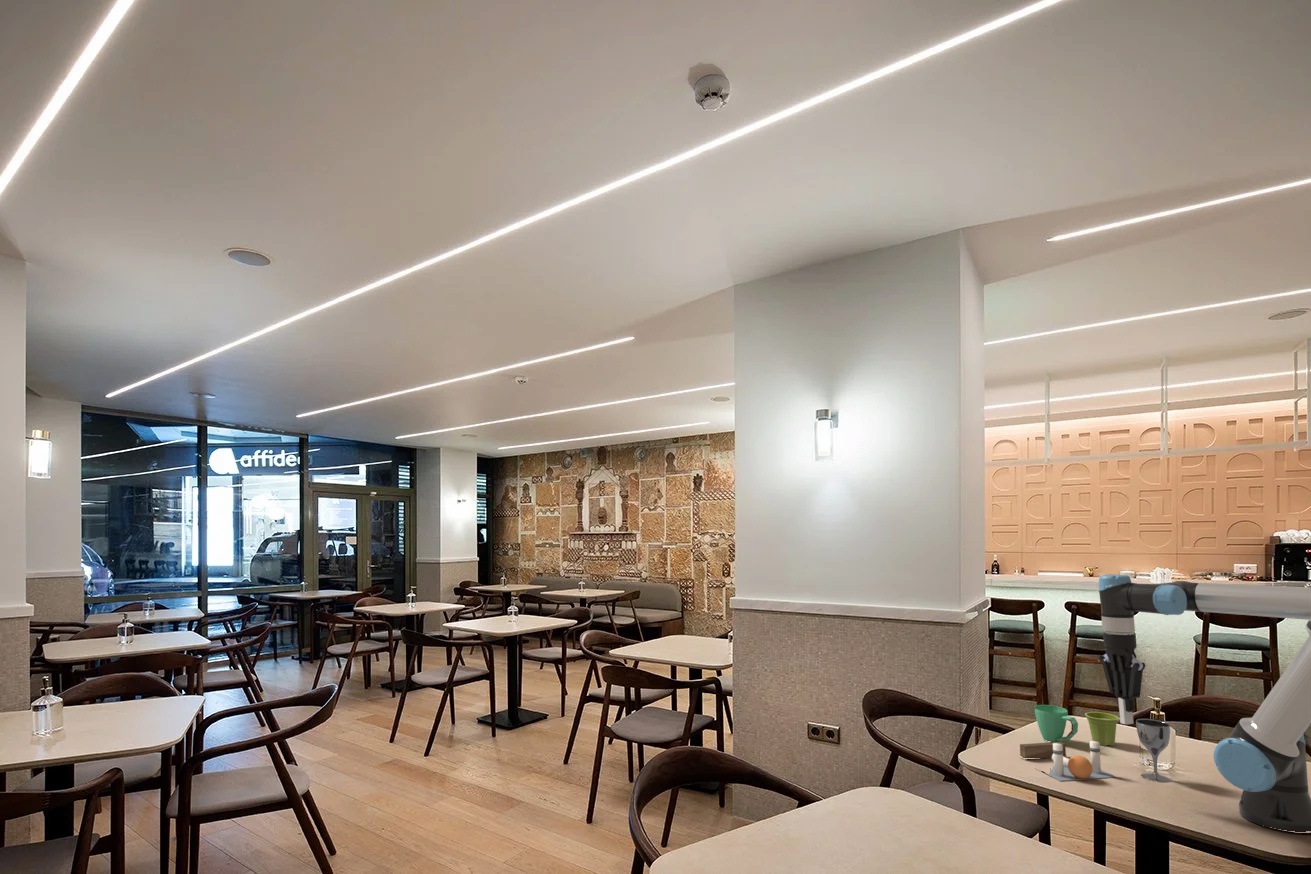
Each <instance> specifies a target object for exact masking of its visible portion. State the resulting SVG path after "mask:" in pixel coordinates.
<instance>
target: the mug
mask: <svg viewBox="0 0 1311 874" xmlns="http://www.w3.org/2000/svg"><path fill="white" fill-rule="evenodd" d="M1033 710H1034V715H1035V719H1036V723H1037V726H1038V728H1039V732H1040V734H1041V736H1042V738H1043V739H1042V740H1044V739H1045V740H1047V741H1051V742H1060V741H1061V742H1065V741H1071V739H1073V737H1074V736H1075V735H1076V734H1077V733H1078V731H1079V723H1078V721H1077V719H1076V717H1074V716H1070V715H1068V714H1069V712H1068V710H1067V709H1066V708H1064V707H1061V706H1057V705H1051V704H1037V705H1034V706H1033ZM1067 721H1069V722H1070V724H1071V731H1070V732H1068V734H1067V735H1066V736H1064V734H1065V730H1066V726H1067ZM1045 740H1044V741H1045ZM1047 741H1046V742H1047Z"/></svg>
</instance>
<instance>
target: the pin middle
mask: <svg viewBox="0 0 1311 874" xmlns="http://www.w3.org/2000/svg"><path fill="white" fill-rule="evenodd" d="M1069 759H1070V758H1068V757H1067V756H1066V757H1063V766H1066V767H1068V761H1069ZM1051 761H1053V762H1054V758H1053V755H1052V758H1051Z"/></svg>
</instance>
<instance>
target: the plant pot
mask: <svg viewBox="0 0 1311 874" xmlns="http://www.w3.org/2000/svg"><path fill="white" fill-rule="evenodd" d="M1084 714H1085V715H1084V716H1085V717H1086V719H1087V721H1088V725H1089V730H1090V734H1091V735H1090V736H1091V741H1096V742H1099V746H1111V747H1112V746H1115V743H1116V733H1117V724H1118V721H1119V720H1120V716H1117V715H1115V714H1111V713H1107V712H1100V711H1099V712H1098V711H1090V712H1085V713H1084Z"/></svg>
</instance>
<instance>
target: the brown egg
mask: <svg viewBox="0 0 1311 874" xmlns="http://www.w3.org/2000/svg"><path fill="white" fill-rule="evenodd" d="M1068 759H1069V761H1068V769H1069V771H1070V772H1071V774H1072V775H1074V776H1075V777H1077V778H1080V779H1085V778H1088V777H1089V776H1090V775H1091V774H1092V765H1091V761H1090V760H1089V759H1088V758H1086V757H1085V756H1082V755H1077V754H1076V755H1072V756H1071V757H1070V758H1068Z"/></svg>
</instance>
